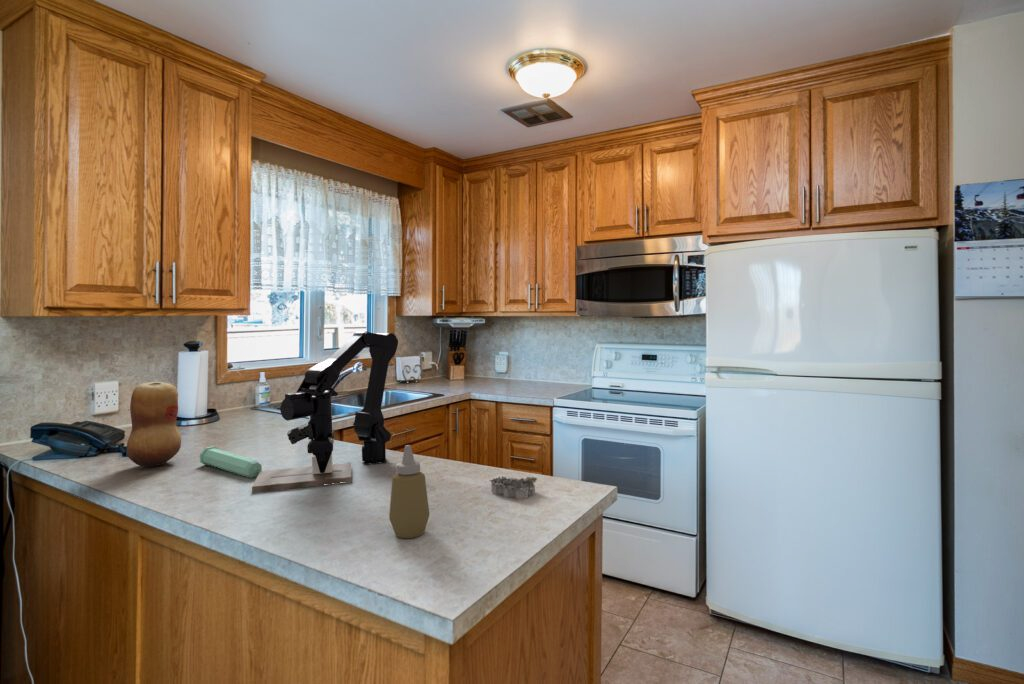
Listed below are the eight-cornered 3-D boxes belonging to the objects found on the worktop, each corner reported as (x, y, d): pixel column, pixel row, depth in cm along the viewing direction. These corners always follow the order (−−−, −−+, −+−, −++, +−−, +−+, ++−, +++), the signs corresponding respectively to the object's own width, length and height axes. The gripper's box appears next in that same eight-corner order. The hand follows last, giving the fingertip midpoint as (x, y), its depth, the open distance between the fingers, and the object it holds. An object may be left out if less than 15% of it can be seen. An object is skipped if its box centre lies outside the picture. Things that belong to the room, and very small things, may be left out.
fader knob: (332, 468, 147) (332, 451, 146) (332, 472, 143) (331, 455, 143) (313, 470, 145) (312, 453, 145) (312, 474, 141) (312, 456, 141)
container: (261, 455, 146) (214, 442, 160) (242, 468, 142) (195, 453, 155) (269, 472, 148) (222, 458, 162) (251, 485, 144) (204, 469, 158)
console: (351, 467, 153) (350, 462, 153) (351, 482, 140) (351, 476, 140) (260, 476, 146) (260, 470, 146) (252, 492, 133) (251, 486, 132)
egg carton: (539, 493, 130) (539, 477, 130) (521, 502, 124) (521, 485, 124) (504, 485, 137) (504, 470, 136) (486, 493, 131) (486, 477, 130)
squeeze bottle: (392, 526, 111) (390, 441, 110) (431, 524, 111) (429, 440, 110) (386, 542, 102) (384, 451, 102) (428, 540, 103) (426, 450, 102)
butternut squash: (162, 472, 151) (158, 385, 150) (116, 472, 151) (111, 386, 150) (192, 458, 165) (189, 379, 164) (150, 458, 165) (146, 379, 164)
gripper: (292, 410, 150) (294, 464, 150) (285, 423, 132) (287, 484, 133) (333, 407, 153) (335, 460, 154) (332, 419, 135) (333, 479, 136)
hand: (322, 470), depth 144 cm, fingers closed on fader knob, 4 cm apart
